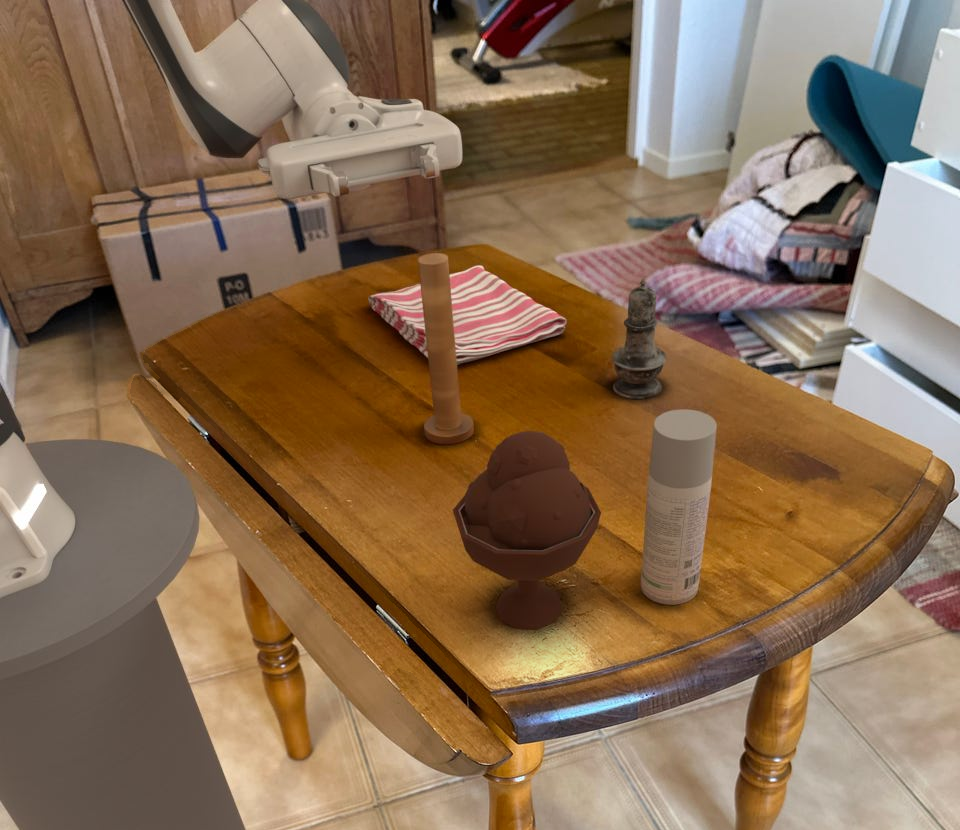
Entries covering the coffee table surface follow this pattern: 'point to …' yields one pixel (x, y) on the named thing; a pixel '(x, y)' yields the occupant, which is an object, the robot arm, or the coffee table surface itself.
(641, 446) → the coffee table surface
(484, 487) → the ice cream bowl
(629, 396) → the salt shaker
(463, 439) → the stirring stick
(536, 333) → the dish towel
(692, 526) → the container
